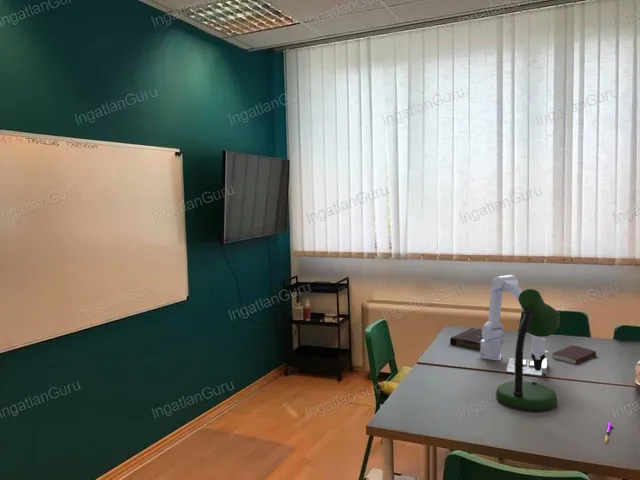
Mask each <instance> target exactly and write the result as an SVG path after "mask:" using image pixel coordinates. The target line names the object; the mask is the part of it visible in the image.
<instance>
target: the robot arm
mask: <svg viewBox="0 0 640 480" xmlns="http://www.w3.org/2000/svg"><path fill="white" fill-rule="evenodd" d="M491 281H492V282H491V286H490V291H489V292H490V293H489V295H490V296H489V307H488V308H489V309H488V320H487V322H485V323H484V324H483V327H482V329H483V330H482V337H483V339H481V350H479V351H480V352H479V353H480V360H481V359H482V360H490V361H501V359H502V354H501V341H502V338H504V335H505V331H504V325H503V324H502V323H501V311H502V300H503V299H502V298H503V292H507V293H511V294H512V295H513V296H514V298H515V299H516V300H517V301H518V302H519V295H520V294H521V292H522V291H523V290H522V288H520V286H519V281H518V279H517V278H516V276H515V275H513V274H508V275H500V276H498V275H497V276H495V277H494V278H492V280H491ZM520 310H522V311H523V313H524V310H523V309H522V307H521V306H520ZM530 348H531V349H530V352H531V355H530V358H531V360H533V362H534V367H535V370H537V371H540V370H541V366H542V362H543V360H544V358H545V356H546V354H548V353H549V351H548V350H546V337H537V336H534V335H532V334H531V347H530Z"/></svg>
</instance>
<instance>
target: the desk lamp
mask: <svg viewBox="0 0 640 480" xmlns="http://www.w3.org/2000/svg"><path fill="white" fill-rule="evenodd" d="M518 303H519V305H520V308H521V307H522V309H523V310H524V312H523V317H522V319H521V322H520V325H519V327H518V331H517V334H516V342H515V346H514V347H515V348H514V358H515V370H514V371H515V372H514V373H515V374H513V375H514V380H511V381H507V382H506V381H505V382H503V383H501V384H500V385H498V387H497V389H496V391H495V394H496V395H495V399H496V401H497V402H498V403H499V404H501V405H503V406H505V407H507V408H510V409H513V410H516V411H520V412H526V413H536V414H537V413H546V412H550V411H552V410H555V408H556V407H557V406H558V397H557V394H556V392H555V391H554V390H553V388H550V387H548V386H547V385H544V384H541V383H538V382H536V381H528V380H524V378H523V377H524V375H523V359H524V349H525V348H524V347H525V346H524V345H525V342H526V341H525V340H526V336H527V333H529V334H530V335H531V336H532V335H534V336H537V337H545V338H546V337H549V336H551V335H553V334H555V332H557V330H558V329H559V327H560V323H561V319H560V315H559V314H558V312H557V310H556V309H555V308H554V307H552V306H551V305H549V304H548V303H545V301H544V299H543V297H542V295H541V293H540V292H539V291H538V290H537V289H533V288H526V289H524V290H522V292H521V294H520V295H519V301H518ZM522 309H521V310H522ZM523 310H522V311H523Z"/></svg>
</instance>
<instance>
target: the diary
mask: <svg viewBox="0 0 640 480" xmlns="http://www.w3.org/2000/svg"><path fill="white" fill-rule="evenodd" d="M482 330H483V328H476V327H471V328H469V329H467V330H465V331H462V332H460V333H458V334H456V335H454V336H450V340H449V344H450V345H453V344H454V346H455V345H456V346H459V347H465V348H467V349H471V350H476V351H480V350H481V339H483V337H482Z"/></svg>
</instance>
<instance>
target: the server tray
mask: <svg viewBox="0 0 640 480" xmlns="http://www.w3.org/2000/svg"><path fill="white" fill-rule="evenodd" d="M547 369H548V368H547ZM547 369H546V373H541V372H542V366H541V370H540V371H537V370H535V367H534V362H533V359H524V358H523V376H528V377H539V378H547V376H548V375H547V374H548V370H547ZM514 370H515V357H509V358H508V363H507V367H506V374H513V375H514V374H515V373H514V372H515V371H514Z"/></svg>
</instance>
